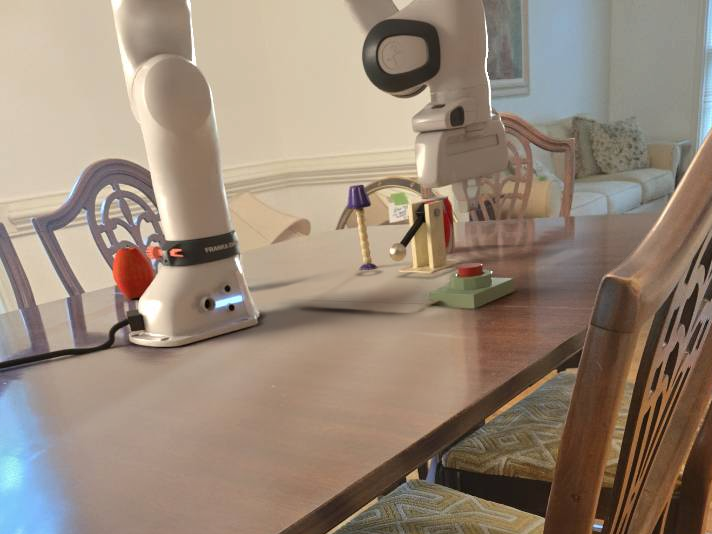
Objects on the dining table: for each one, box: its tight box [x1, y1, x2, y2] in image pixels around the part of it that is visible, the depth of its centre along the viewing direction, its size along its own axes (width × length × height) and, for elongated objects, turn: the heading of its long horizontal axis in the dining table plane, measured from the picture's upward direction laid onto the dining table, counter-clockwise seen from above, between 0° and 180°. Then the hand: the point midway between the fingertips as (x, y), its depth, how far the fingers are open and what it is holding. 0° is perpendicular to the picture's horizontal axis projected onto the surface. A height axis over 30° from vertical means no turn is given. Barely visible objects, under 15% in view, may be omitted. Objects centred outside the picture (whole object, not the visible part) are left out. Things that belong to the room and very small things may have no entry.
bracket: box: [398, 200, 462, 274], centre depth 150 cm, size 10×8×13 cm
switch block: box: [427, 269, 515, 310], centre depth 128 cm, size 12×9×4 cm
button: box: [457, 262, 484, 277], centre depth 126 cm, size 4×4×2 cm
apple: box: [112, 245, 156, 300], centre depth 159 cm, size 8×8×11 cm
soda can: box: [420, 194, 456, 255], centre depth 164 cm, size 7×7×12 cm
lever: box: [389, 203, 427, 262], centre depth 146 cm, size 14×3×3 cm, turn 142°
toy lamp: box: [347, 184, 378, 271], centre depth 155 cm, size 5×5×17 cm
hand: (468, 211), depth 122 cm, fingers closed
